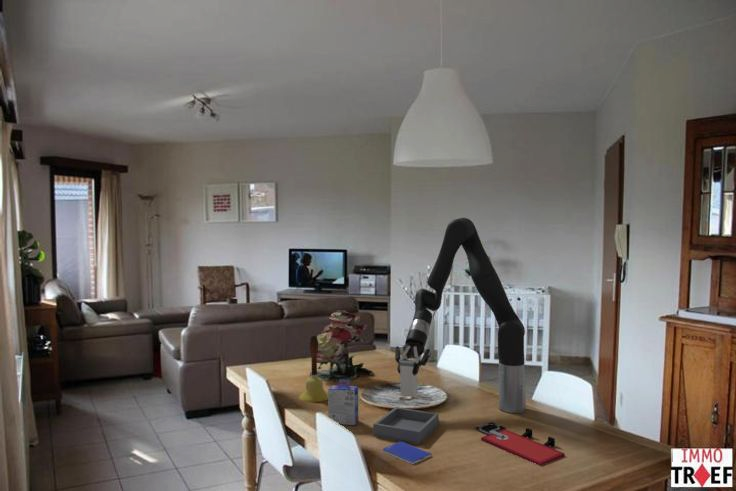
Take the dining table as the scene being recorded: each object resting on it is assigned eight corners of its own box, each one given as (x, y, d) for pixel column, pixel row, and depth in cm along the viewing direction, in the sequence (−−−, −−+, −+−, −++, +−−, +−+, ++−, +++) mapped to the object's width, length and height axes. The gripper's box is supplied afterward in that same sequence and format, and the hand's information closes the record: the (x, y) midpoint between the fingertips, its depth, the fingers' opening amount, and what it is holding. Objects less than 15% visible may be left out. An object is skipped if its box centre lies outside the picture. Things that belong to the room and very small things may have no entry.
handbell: (326, 391, 222) (325, 331, 221) (333, 400, 210) (332, 337, 209) (296, 394, 218) (295, 333, 217) (302, 403, 207) (301, 339, 206)
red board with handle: (495, 423, 184) (464, 434, 176) (495, 415, 184) (464, 425, 176) (572, 454, 160) (540, 468, 151) (572, 445, 159) (540, 459, 151)
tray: (438, 425, 183) (438, 413, 182) (419, 444, 166) (419, 432, 166) (395, 418, 190) (395, 407, 190) (373, 436, 174) (373, 424, 173)
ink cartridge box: (359, 420, 188) (358, 379, 188) (355, 425, 183) (355, 384, 182) (332, 418, 190) (331, 378, 190) (327, 424, 185) (327, 382, 184)
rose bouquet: (331, 364, 265) (330, 304, 264) (379, 373, 248) (379, 309, 247) (295, 376, 245) (294, 311, 244) (345, 387, 228) (345, 317, 227)
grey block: (417, 393, 196) (416, 360, 195) (413, 396, 192) (412, 363, 192) (405, 391, 198) (404, 359, 197) (400, 395, 194) (399, 362, 194)
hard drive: (382, 448, 162) (412, 461, 153) (401, 440, 167) (431, 452, 158) (382, 453, 162) (412, 466, 153) (401, 445, 167) (431, 458, 158)
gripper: (397, 327, 204) (385, 366, 194) (433, 329, 198) (422, 369, 187) (403, 338, 209) (391, 376, 199) (438, 341, 203) (428, 380, 192)
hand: (406, 373), depth 193 cm, fingers closed on grey block, 5 cm apart
